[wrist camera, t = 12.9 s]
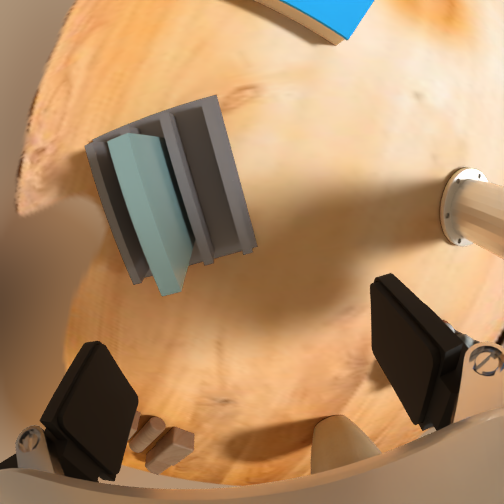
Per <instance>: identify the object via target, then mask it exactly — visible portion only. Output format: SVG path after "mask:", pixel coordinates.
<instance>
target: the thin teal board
mask: <svg viewBox="0 0 504 504" xmlns="http://www.w3.org/2000/svg"><path fill="white" fill-rule="evenodd" d="M107 142H108V146H109V150H110V153H111V157H112V160H113V164H114V167H115V170H116V174H117V177H118V180H119V183H120V186H121V190H122V193H123V196H124V199H125V202H126V205H127V208H128V211H129V213H130V216H131V219H132V222H133V225H134V228H135V230H136V233H137V236H138V238H139V241H140V244H141V246H142V249H143V252H144V254H145V257H146V259H147V262H148V264H149V267H150V269H151V272H152V274H153V277H154V279H155V281H156V284H157V286H158V289H159V291H160V293H161V295H162V296H166V295H170V294H174V293H178V292H181V291H182V287H183V283H184V279H185V276H186V272H187V268H188V265H189V261H190V257H191V254H192V250H193V247H194V243H195V240H196V239H195V236H194V233H193V230H192V227H191V223H190V220H189V217H188V214H187V211H186V208H185V205H184V202H183V198H182V195H181V192H180V189H179V185H178V182H177V179H176V175H175V172H174V169H173V165H172V162H171V158H170V155H169V152H168V148H167V145H166V141H165V138H163V137H156V136H149V135H141V134H133V133H126V134H124V135H121V136H119V137H116V138H114V139H112V140H109V141H107Z"/></svg>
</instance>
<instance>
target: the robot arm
mask: <svg viewBox="0 0 504 504" xmlns="http://www.w3.org/2000/svg"><path fill="white" fill-rule="evenodd" d="M440 218H441V225H442V229H443V232H444V234H445V236H446V237H447V238H448V240H449V241H451V242H452V243H453V244H455V245H457V246H461V247H464V246H469V245H471V244H473V243H475V244H476V245H478V246H480V247H482V248H484V249H486V250H488V251H489V252H491V253H493V254H495V255H497V256H498V257H500V258H502V259H504V187H503V186H500V185H496V184H493V183H489V182H488V181H487V179H486V177H485V176H484V175H483V174H482V173H481V172H480V171H479V170H477V169H473V168H462V169H460V170H458V171H457V172H456V173H455V174H454V175H453V176H452V177H451V178H450V180H449V181H448V183H447V185H446V187H445V190H444V193H443V196H442V200H441V208H440ZM370 297H371V330H372V351H373V354H374V356H375V358H376V359H377V361H378V363H379V364H380V366H381V368H382V369H383V371H384V373H385V375H386V376H387V378H388V380H389V381H390V383H391V385H392V387H393V388H394V390H395V392H396V394H397V396H398V397H399V399H400V401H401V403H402V404H403V406H404V408H405V410H406V412H407V413H408V415H409V417H410V419H411V421H412V422H413V424H414V425H417V424H419V425H420V427H421V429H422V431H424V430H426V429H428V428H430V427H432V426H434V427H435V429H436V431H435V432H433V433H431V434H428V435H426V436H424V437H421V438H419V439H417V440H415V441H412V442H410V443H407V444H405V445H403V446H400V447H398V448H395V449H393V450H390V451H387V452H385V453H382V454H379V455H376V456H373V457H370V458H367V459H364V460H361V461H358V462H355V463H352V464H349V465H346V466H342V467H339V468H335V469H332V470H328V471H324V472H320V473H316V474H312V475H307V476H303V477H298V478H293V479H288V480H282V481H277V482H270V483H264V484H256V485H248V486H239V487H228V488H213V489H154V488H139V487H128V486H119V485H111V484H104V483H99V482H98V477H100V478H101V479H103V480H109V481H115V478H116V474H118V473H119V471H120V468H121V464H122V460H123V456H124V452H125V448H126V445H127V441H128V437H129V434H130V430H131V427H132V423H133V420H134V416H135V413H136V409H137V406H138V396H137V394H136V392H135V391H134V390H133V388H132V387H131V385H130V384H129V382H128V381H127V379H126V378H125V376H124V374H123V373H122V371H121V370H120V368H119V367H118V365H117V363H116V362H115V360H114V359H113V357H112V355H111V354H110V352H109V350H108V349H107V347H106V346H105V345H104V344H102V343H101V342H100V341H93V342H87V343H85V344H84V345H83V346H82V348H81V349H80V351H79V352H78V354H77V356H76V357H75V359H74V361H73V362H72V364H71V366H70V367H69V369H68V371H67V372H66V374H65V376H64V377H63V379H62V381H61V383H60V384H59V386H58V388H57V390H56V391H55V393H54V395H53V397H52V398H51V400H50V402H49V404H48V406H47V408H46V410H45V411H44V413H43V415H42V417H41V419H40V422H41V423H42V424H43V425H44V426H45V427H46V429H45V431H44V430H43V429H42V428H41V427H40V426H36V425H33V426H29V427H27V428H26V429H24V430H23V431H22V432H21V433H20V434H19V436H18V438H17V440H16V454H14V455H13V456H11V457H9V458H8V459H6V460H5V461H3V462H1V463H0V504H504V348H503V347H502V346H500V345H498V344H496V343H492V342H480V343H477V344H474V345H473V346H471V347H470V348H468V347H467V345H466V344H465V343H464V342H463V341H462V340H461V339H460V338H459V337H458V336H457V335H456V334H455V333H454V332H453V331H452V330H451V329H450V328H449V327H448V326H447V325H446V324H445V323H444V322H443V321H442V320H441V319H440V318H439V317H438V316H437V315H436V314H435V313H434V312H433V311H432V310H431V309H430V308H429V307H428V306H427V305H426V304H424V303H423V302H422V301H421V300H420V299H419V298H418V297H417V296H416V295H415V294H414V293H413V292H411V291H410V290H409V289H408V288H407V287H406V286H405V285H404V284H403V283H402V282H401V281H400V280H399V279H398V278H397V277H395V276H394V275H393V274H392V273H389V274H386V275H383V276H380V277H376V278H375V280H374V283H372V284H371V285H370Z"/></svg>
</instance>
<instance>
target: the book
mask: <svg viewBox="0 0 504 504" xmlns="http://www.w3.org/2000/svg"><path fill="white" fill-rule="evenodd" d="M254 1H256V2H258V3H260V4H263V5H265V6H267V7H269V8H271V9H273V10H275V11H277V12H279V13H281V14H283V15H285V16H287V17H288V18H290V19H292V20H294V21H296V22H298V23H299V24H301V25H303V26H305V27H306V28H308V29H310V30H312V31H313V32H315V33H316V34H318V35H320V36H321V37H323V38H325V39H326V40H328V41H329V42H331V43H332V44H334V45H335V46H336V45H338V44H339V43H340V42H341V41H343V40H344V39H346V40H348V39H349V38H350V36H351V35H352V33H353V32H354V30H355V29H356V27H357V26H358V24H359V23H360V21H361V20H362V18H363V17H364V15H365V14H366V12H367V11H368V9H369V8H370V6H371V5H372V3H373V2H374V0H254Z"/></svg>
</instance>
